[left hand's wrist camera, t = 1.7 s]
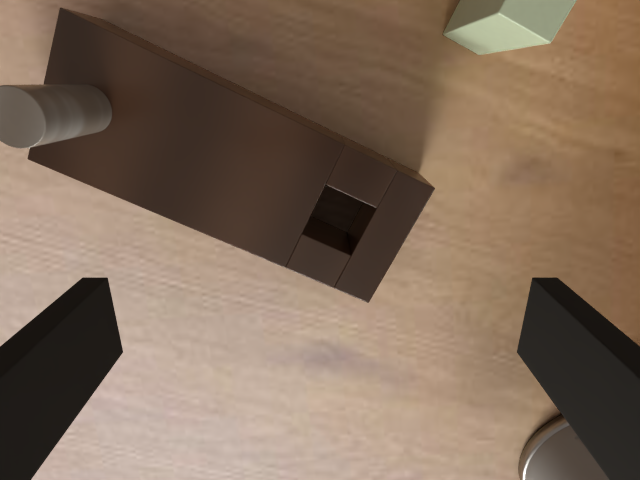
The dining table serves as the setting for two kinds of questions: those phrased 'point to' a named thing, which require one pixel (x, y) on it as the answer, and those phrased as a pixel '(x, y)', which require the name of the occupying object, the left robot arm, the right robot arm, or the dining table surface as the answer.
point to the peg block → (210, 155)
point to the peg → (506, 23)
